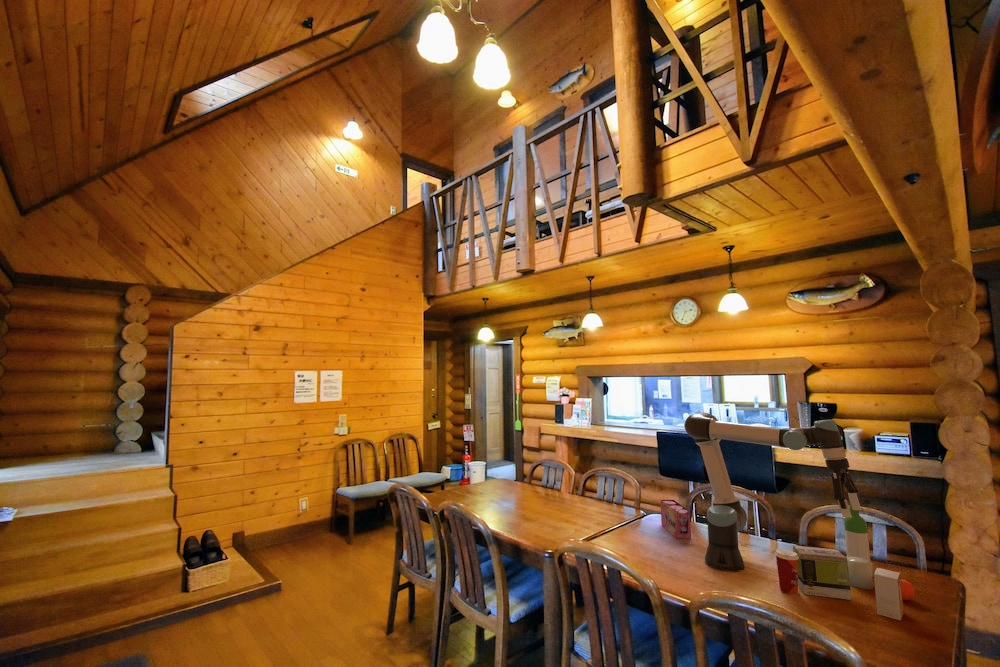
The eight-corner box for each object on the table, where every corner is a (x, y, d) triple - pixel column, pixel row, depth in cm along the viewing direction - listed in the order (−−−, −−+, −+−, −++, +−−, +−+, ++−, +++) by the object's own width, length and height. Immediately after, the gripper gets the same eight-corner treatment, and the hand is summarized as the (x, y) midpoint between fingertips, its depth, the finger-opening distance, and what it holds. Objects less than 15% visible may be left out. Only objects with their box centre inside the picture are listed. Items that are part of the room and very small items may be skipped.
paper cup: (801, 598, 162) (799, 557, 164) (777, 593, 166) (774, 553, 168) (801, 590, 169) (798, 551, 170) (777, 585, 173) (774, 547, 174)
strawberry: (907, 605, 157) (905, 584, 158) (884, 597, 163) (882, 576, 164) (920, 601, 160) (918, 580, 161) (896, 593, 166) (894, 573, 167)
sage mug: (861, 590, 169) (859, 565, 170) (841, 581, 177) (839, 557, 178) (883, 587, 171) (881, 562, 172) (862, 578, 179) (860, 555, 180)
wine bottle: (846, 563, 194) (840, 492, 197) (869, 567, 190) (862, 494, 193) (849, 570, 187) (843, 496, 191) (873, 574, 183) (866, 498, 187)
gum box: (693, 539, 224) (691, 511, 225) (677, 539, 224) (676, 511, 226) (675, 524, 248) (674, 499, 249) (660, 524, 248) (659, 499, 249)
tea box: (841, 589, 170) (837, 548, 171) (852, 601, 160) (848, 558, 162) (795, 583, 174) (792, 544, 176) (803, 594, 165) (800, 553, 167)
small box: (901, 621, 147) (897, 579, 148) (876, 614, 151) (873, 573, 153) (904, 612, 152) (900, 572, 154) (879, 606, 157) (876, 567, 158)
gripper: (837, 462, 171) (854, 521, 166) (855, 453, 186) (872, 507, 181) (814, 463, 176) (831, 520, 171) (834, 455, 192) (849, 506, 187)
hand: (852, 513), depth 176 cm, fingers open, 13 cm apart
